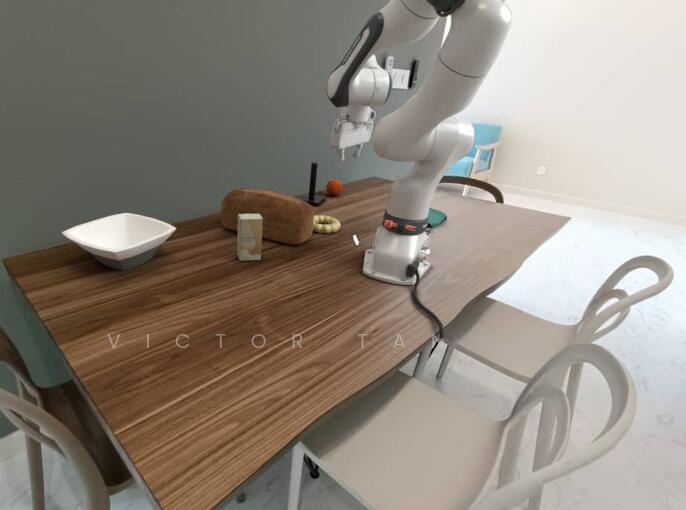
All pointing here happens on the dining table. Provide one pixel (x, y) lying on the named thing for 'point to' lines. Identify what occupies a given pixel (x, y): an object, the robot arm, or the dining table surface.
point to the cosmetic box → (249, 236)
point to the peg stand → (313, 189)
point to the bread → (270, 214)
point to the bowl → (121, 239)
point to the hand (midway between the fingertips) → (348, 159)
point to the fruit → (334, 187)
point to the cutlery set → (435, 218)
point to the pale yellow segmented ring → (332, 223)
